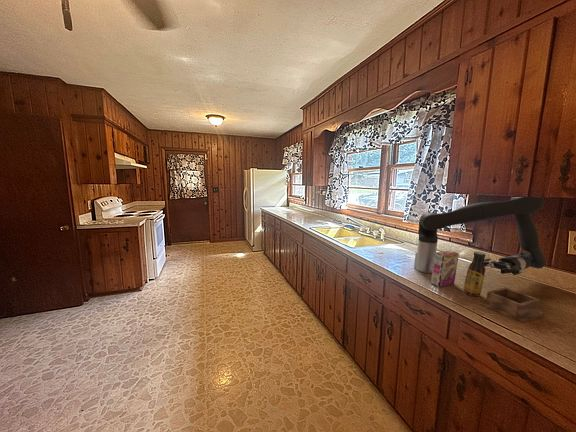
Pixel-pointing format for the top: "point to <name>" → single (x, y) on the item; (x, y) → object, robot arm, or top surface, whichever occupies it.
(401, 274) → the top surface
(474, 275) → the sauce bottle
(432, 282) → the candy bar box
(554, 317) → the top surface
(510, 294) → the walnut caddy
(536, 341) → the top surface
